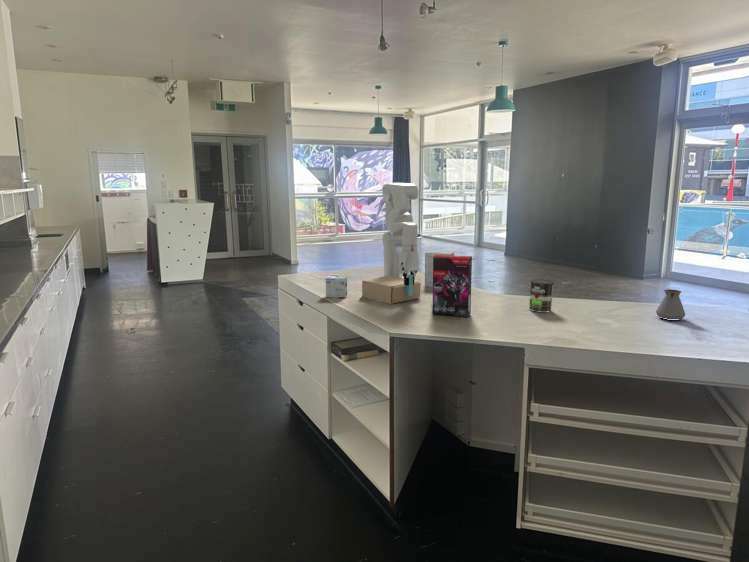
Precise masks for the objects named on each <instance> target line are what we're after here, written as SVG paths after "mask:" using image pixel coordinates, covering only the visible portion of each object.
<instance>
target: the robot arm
mask: <svg viewBox="0 0 749 562" xmlns="http://www.w3.org/2000/svg"><path fill="white" fill-rule="evenodd" d="M381 191H382V196H383V201H384V205H385V210H384V211H385V215H384V217H385V221H384V223H385V227H386V228H387V229H388V231H386V232H384V233H383V234H382V236H381V237H382V246H383V277H384V276H394V277H399V278H404V285H409V278H408V276H409V274H411V275H413V285H414V281H416V280H415V277H416V275H417V273H418V272H419V271H420V268H419V267H420V266H419V265H420V261H419V257H420V256H419V251H418V247H419V246H418V235H419V234H418V230H419V227H418V224H416V222H415V221H414V218H413V215H412V214H411V212H410V210H411V202H410V201H414V200H415V201H416V200H417V199H418V198H419V194H420V193H419V192H420V191H419V187H418V186H417V185H416V184H415V183H411V182H409V183H408V182H406V183H405V182H388V183H385V184H384V185H383V186H382V188H381ZM397 248H401V251H400V252H399V251H398V249H397Z"/></svg>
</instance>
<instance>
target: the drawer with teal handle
mask: <svg viewBox="0 0 749 562" xmlns="http://www.w3.org/2000/svg"><path fill="white" fill-rule="evenodd" d="M408 278H409V285H403V286H397V287H393V288H392V302H393V303H394V302H398V303H400V302H399V301H403V302H405V301H404V300H408V299H412V300H414V299H413V298H417V299H419V298H421V282H419V283H414V285H413V275H411V274H410V273H409V276H408ZM408 301H409V300H408ZM394 304H395V303H394Z"/></svg>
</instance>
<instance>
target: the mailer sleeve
mask: <svg viewBox="0 0 749 562" xmlns="http://www.w3.org/2000/svg"><path fill="white" fill-rule="evenodd" d="M414 283H419V281H418V280H415V281H414ZM403 285H404V278H399V277H394V276H384V275H383V276H377V277H374V278H367V279H362V280H361V297H362V296H363V297H362V298H365V297H366V298H365V299H369V298H370V299H369V300H374V301H377V302H382V303H385V304H388V305H394V304H398V303H402V302H407V301H412V300H416V299H418V298H413V299H408V300H404V301H399V302H394V303H393V302H392V288H393V287H397V286H403Z"/></svg>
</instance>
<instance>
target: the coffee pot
mask: <svg viewBox="0 0 749 562" xmlns="http://www.w3.org/2000/svg"><path fill="white" fill-rule="evenodd" d="M663 291H664V293H665V295H664V297H663V299H662V300H661V301H660V304H659V306H658V307H657V309H656V310H655V313H656V315H657V316H658V317H659V318H660V317H662V318H667V319H680V320H682V319H684V318H685V316H686V312H685V310H684V309H685V308H684V305H683V304H682V301H681V297H680V296H681V295H680V294H681V293H682V291H681V290H679V289H678V290H677V289H669V288H668V289H664V290H663Z"/></svg>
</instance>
